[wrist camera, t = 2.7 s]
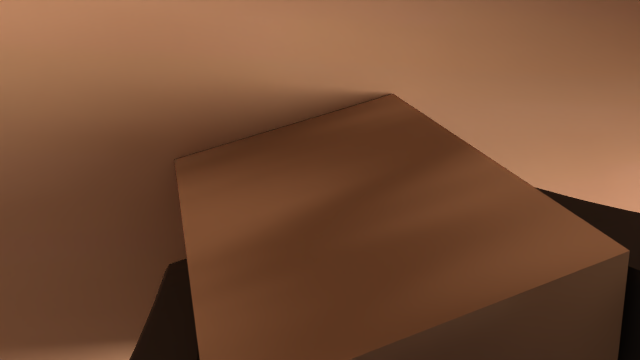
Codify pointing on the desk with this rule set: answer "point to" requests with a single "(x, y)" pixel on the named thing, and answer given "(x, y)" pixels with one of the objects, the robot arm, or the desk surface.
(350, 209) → the block
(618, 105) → the desk surface
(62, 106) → the desk surface
